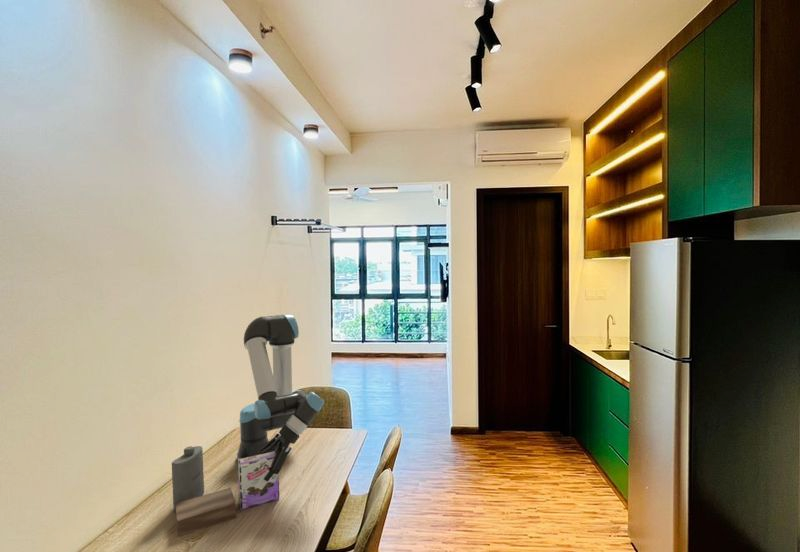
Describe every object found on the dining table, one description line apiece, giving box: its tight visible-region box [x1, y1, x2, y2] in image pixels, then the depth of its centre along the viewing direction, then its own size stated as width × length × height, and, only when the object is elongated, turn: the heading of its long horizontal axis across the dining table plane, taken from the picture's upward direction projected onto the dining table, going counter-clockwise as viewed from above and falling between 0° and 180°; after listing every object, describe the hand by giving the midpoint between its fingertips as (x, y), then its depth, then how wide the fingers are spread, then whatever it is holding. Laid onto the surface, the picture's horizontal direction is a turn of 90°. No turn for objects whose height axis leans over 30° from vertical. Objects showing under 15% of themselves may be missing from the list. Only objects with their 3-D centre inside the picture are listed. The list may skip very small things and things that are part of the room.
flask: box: [171, 445, 205, 513], centre depth 152 cm, size 15×6×20 cm, turn 176°
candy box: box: [237, 451, 280, 510], centre depth 150 cm, size 14×6×16 cm, turn 117°
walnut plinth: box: [175, 487, 237, 537], centre depth 141 cm, size 12×18×5 cm, turn 121°
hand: (254, 479), depth 149 cm, fingers open, 13 cm apart
